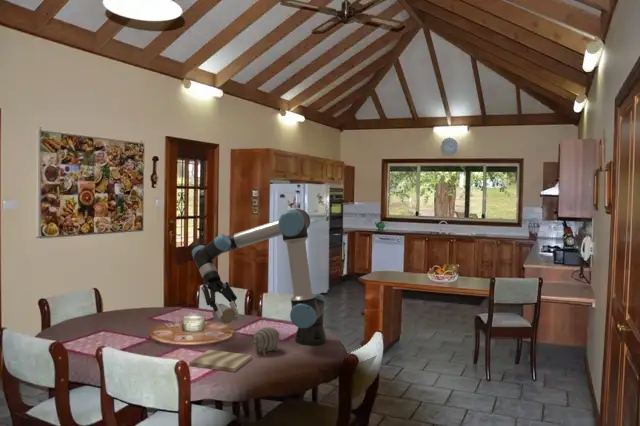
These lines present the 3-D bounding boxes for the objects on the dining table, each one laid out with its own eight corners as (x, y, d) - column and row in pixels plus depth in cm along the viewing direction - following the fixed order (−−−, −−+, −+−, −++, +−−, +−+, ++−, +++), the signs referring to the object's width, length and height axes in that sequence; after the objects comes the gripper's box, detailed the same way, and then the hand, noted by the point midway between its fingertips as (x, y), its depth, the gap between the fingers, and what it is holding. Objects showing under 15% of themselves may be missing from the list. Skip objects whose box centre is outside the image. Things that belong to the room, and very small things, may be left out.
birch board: (251, 358, 232) (251, 355, 232) (234, 372, 215) (234, 368, 215) (209, 353, 237) (209, 349, 237) (189, 365, 220) (189, 361, 220)
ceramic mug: (222, 324, 240) (222, 307, 240) (211, 321, 246) (212, 304, 246) (241, 321, 248) (242, 305, 247) (231, 318, 253) (231, 302, 253)
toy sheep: (286, 350, 246) (287, 326, 246) (262, 359, 232) (263, 333, 231) (267, 345, 252) (268, 322, 251) (243, 354, 238) (244, 329, 237)
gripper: (224, 277, 263) (243, 316, 253) (187, 281, 249) (205, 323, 238) (231, 268, 259) (251, 307, 249) (193, 271, 245) (212, 313, 234)
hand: (228, 315), depth 243 cm, fingers closed on ceramic mug, 8 cm apart
